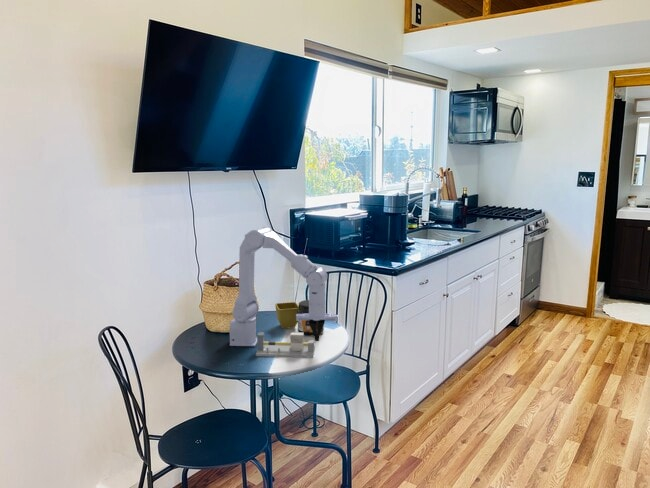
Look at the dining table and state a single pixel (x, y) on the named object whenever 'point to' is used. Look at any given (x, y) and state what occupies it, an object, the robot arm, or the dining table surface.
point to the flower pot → (287, 314)
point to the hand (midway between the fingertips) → (317, 340)
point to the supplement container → (304, 324)
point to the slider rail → (282, 348)
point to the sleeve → (297, 340)
